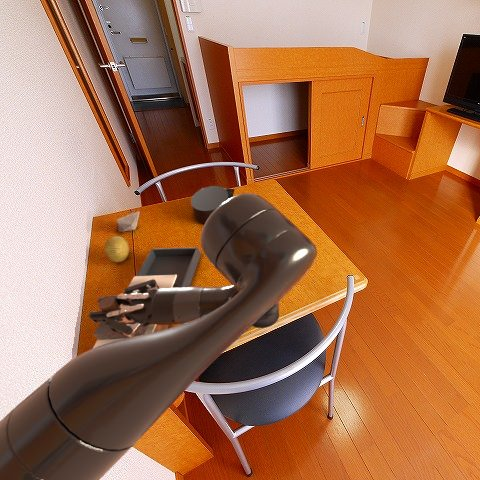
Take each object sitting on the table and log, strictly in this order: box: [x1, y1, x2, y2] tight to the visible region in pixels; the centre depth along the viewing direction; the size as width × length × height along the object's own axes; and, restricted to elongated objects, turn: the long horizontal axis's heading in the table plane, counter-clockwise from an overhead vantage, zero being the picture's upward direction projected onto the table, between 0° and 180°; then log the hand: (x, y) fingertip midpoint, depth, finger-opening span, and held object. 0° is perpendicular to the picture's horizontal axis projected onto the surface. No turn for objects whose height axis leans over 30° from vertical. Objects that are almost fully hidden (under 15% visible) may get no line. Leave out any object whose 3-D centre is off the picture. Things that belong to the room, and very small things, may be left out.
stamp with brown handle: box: [93, 297, 148, 340], centre depth 58 cm, size 5×9×9 cm, turn 95°
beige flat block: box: [92, 275, 177, 349], centre depth 68 cm, size 20×11×6 cm, turn 5°
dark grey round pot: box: [190, 185, 236, 225], centre depth 106 cm, size 14×18×8 cm
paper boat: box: [116, 209, 140, 233], centre depth 97 cm, size 12×6×9 cm
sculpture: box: [104, 235, 130, 263], centre depth 84 cm, size 8×4×8 cm, turn 8°
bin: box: [135, 246, 202, 287], centre depth 81 cm, size 17×14×3 cm
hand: (95, 309), depth 56 cm, fingers closed on stamp with brown handle, 3 cm apart
